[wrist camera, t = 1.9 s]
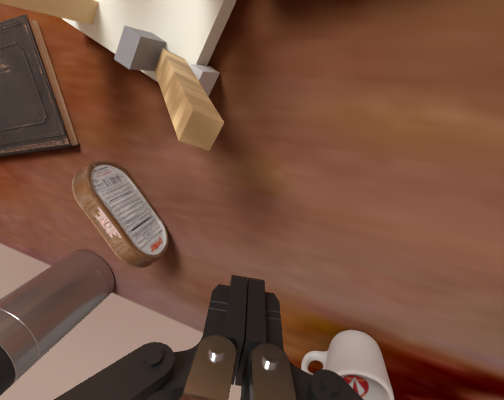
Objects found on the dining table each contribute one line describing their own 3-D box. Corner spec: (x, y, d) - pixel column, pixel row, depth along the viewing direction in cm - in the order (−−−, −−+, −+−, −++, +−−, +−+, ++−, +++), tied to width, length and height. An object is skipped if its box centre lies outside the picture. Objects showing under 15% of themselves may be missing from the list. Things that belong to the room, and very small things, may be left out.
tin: (104, 162, 43) (53, 179, 35) (118, 151, 42) (69, 166, 34) (166, 248, 45) (131, 281, 38) (181, 240, 44) (148, 273, 37)
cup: (306, 360, 46) (300, 412, 39) (303, 317, 43) (296, 364, 36) (383, 370, 43) (393, 428, 36) (385, 324, 40) (396, 377, 33)
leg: (175, 80, 33) (209, 150, 22) (154, 70, 32) (178, 140, 21) (184, 59, 32) (224, 122, 21) (162, 48, 31) (193, 109, 20)
